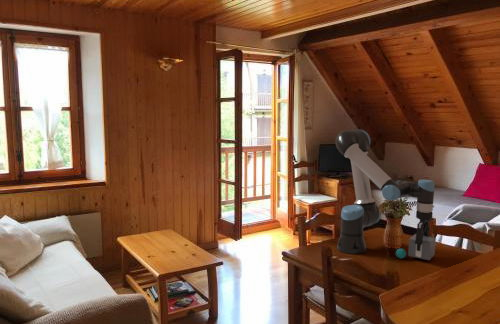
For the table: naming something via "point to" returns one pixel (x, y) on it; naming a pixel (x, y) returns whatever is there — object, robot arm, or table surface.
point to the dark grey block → (423, 247)
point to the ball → (400, 253)
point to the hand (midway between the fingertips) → (421, 253)
